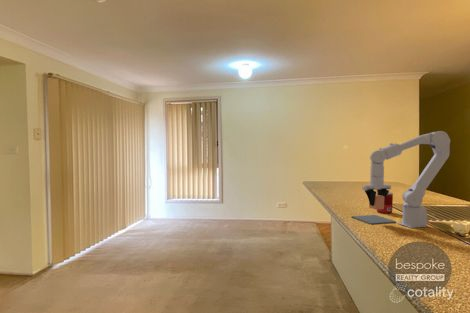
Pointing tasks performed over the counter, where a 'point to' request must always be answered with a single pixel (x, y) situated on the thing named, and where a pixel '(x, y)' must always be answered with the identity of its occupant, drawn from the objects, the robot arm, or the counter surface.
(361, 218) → the mat
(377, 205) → the block
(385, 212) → the canned food
